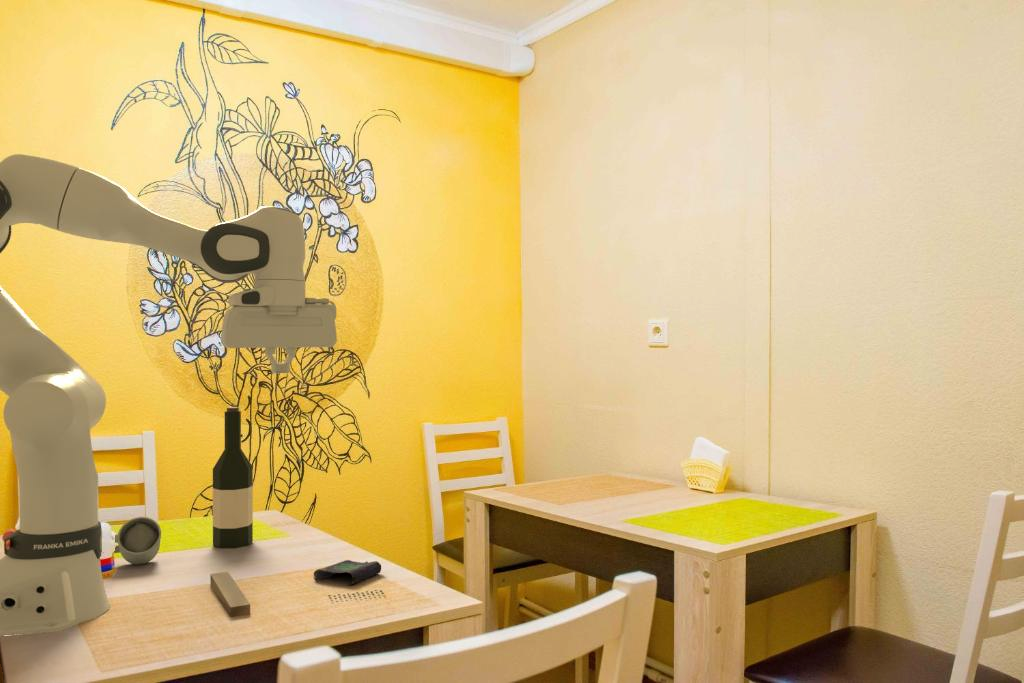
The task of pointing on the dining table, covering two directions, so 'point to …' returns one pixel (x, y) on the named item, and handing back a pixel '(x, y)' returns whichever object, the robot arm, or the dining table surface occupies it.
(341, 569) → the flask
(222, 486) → the wine bottle
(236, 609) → the bar
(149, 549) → the ceramic mug
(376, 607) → the dining table surface
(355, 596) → the woven mat
